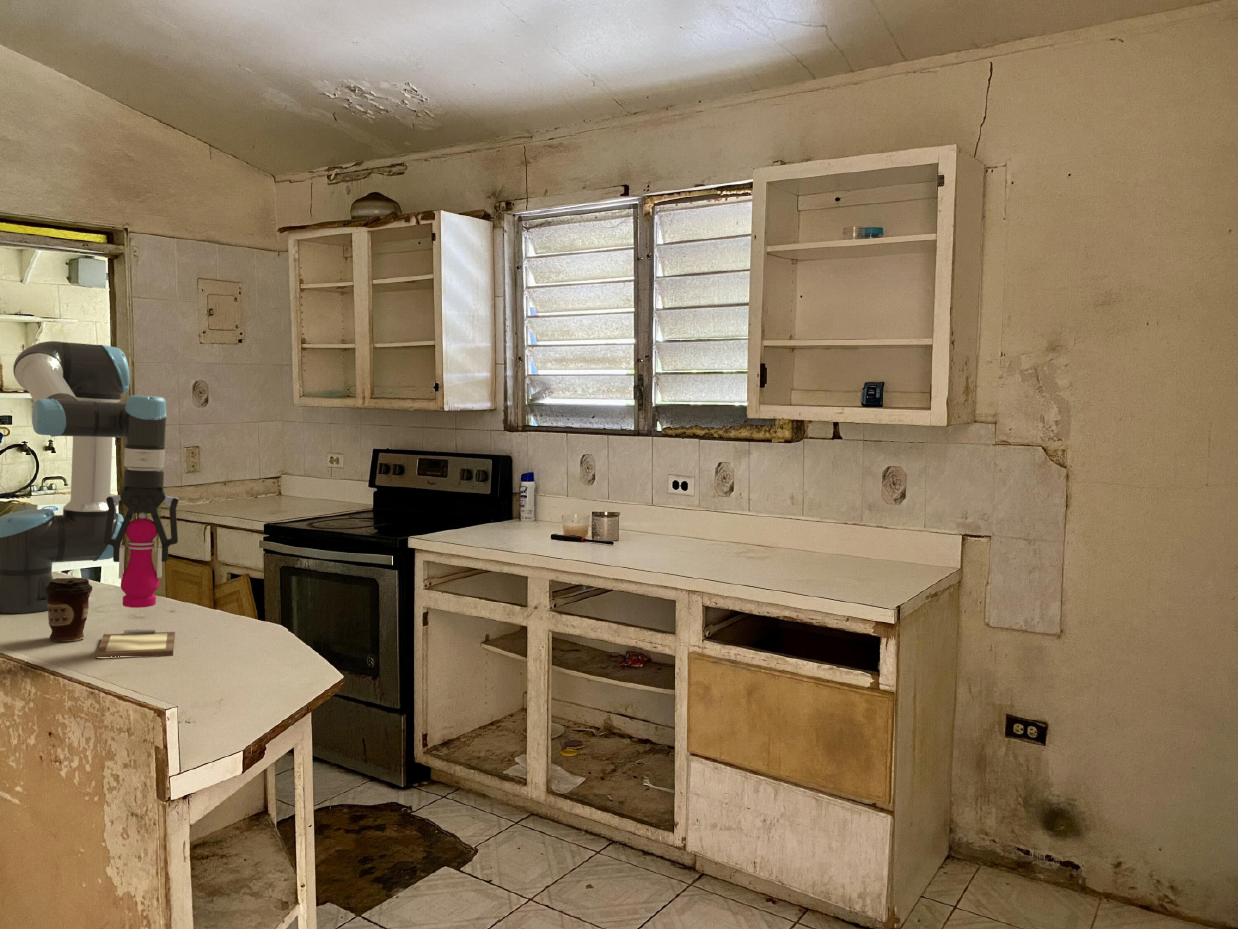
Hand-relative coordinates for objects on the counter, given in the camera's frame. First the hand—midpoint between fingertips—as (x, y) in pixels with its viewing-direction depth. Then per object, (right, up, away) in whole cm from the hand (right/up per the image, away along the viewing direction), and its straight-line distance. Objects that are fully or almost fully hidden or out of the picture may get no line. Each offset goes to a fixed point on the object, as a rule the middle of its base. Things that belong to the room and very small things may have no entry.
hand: (140, 576), depth 193 cm
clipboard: (-1, -15, +1) cm, 15 cm away
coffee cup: (-18, -14, +3) cm, 23 cm away
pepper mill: (0, -6, 0) cm, 6 cm away
